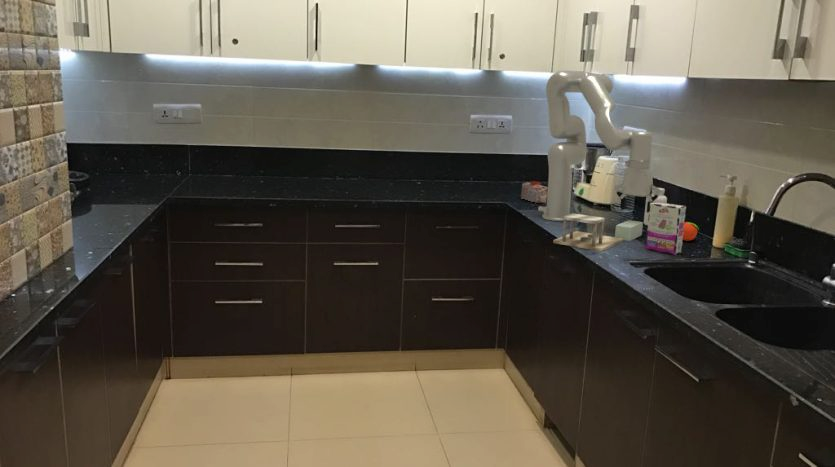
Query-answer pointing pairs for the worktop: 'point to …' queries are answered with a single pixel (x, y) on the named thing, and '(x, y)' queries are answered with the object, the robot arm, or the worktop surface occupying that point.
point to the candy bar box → (665, 228)
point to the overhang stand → (586, 234)
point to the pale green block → (629, 230)
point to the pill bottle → (660, 199)
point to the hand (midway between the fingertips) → (636, 210)
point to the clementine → (689, 231)
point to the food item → (534, 192)
